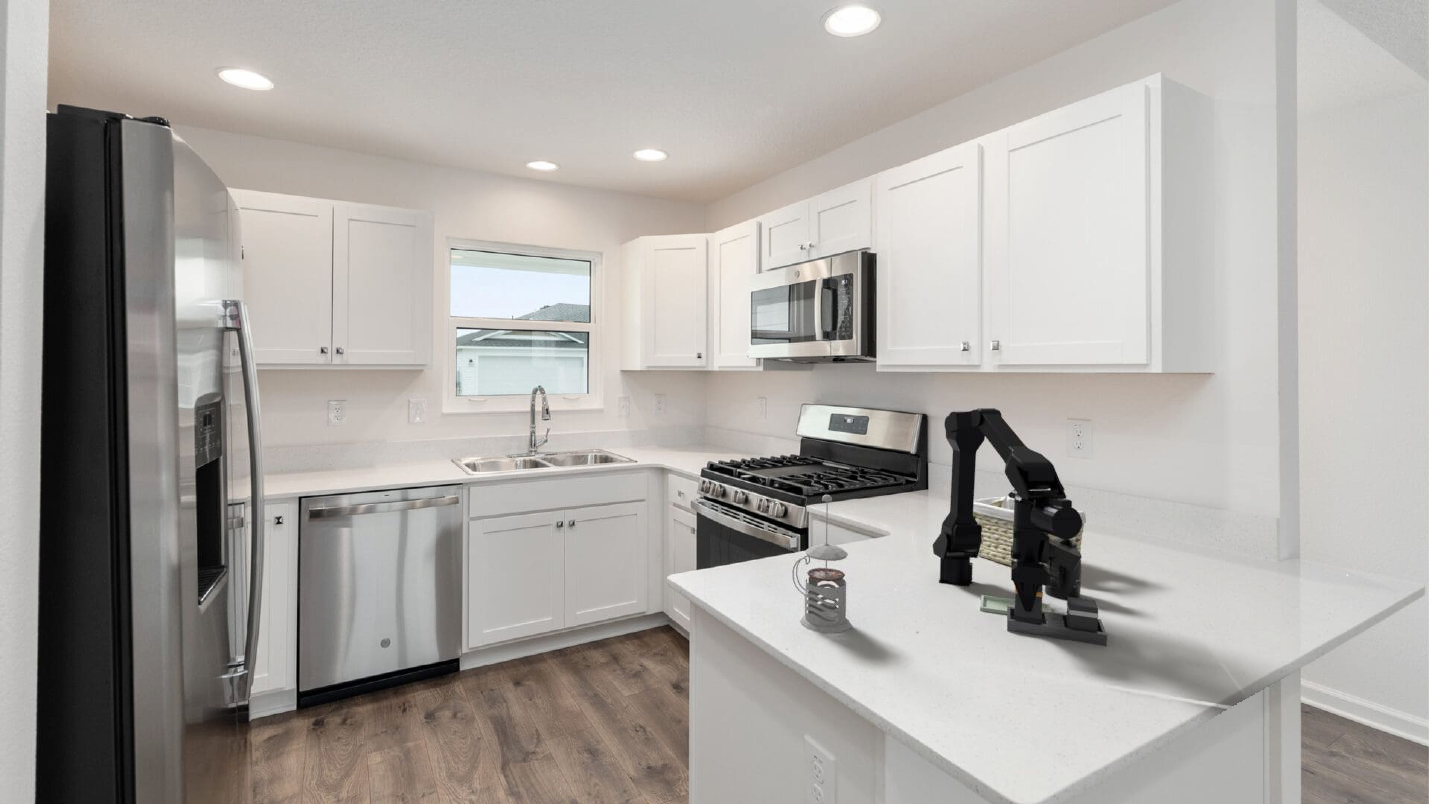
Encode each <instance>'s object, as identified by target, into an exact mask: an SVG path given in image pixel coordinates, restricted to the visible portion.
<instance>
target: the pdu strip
mask: <svg viewBox="0 0 1429 804" xmlns="http://www.w3.org/2000/svg"><path fill="white" fill-rule="evenodd" d="M1006 631H1007V632H1010V633H1016V634H1017V633H1018V634H1021V635H1023V634H1024V635H1030V636H1036V637H1042V638H1043V637H1044V638H1049V639H1056V640H1062V641H1069V642H1076V643H1082V644H1087V645H1096V646H1102V647H1107V643H1108V642H1107V641H1108V634H1107V632H1106V630H1105V626H1104V624H1103V622H1102V619H1100V618H1098V630H1097V632H1096V631H1089V630H1083V629H1076V628H1069V627H1067V613H1066V614H1065V613H1059V612H1052V611H1051V612H1045V611H1042V619H1035V618H1028V617H1021V616H1015V607H1009V606H1007V615H1006Z"/></svg>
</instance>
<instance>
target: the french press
mask: <svg viewBox="0 0 1429 804" xmlns="http://www.w3.org/2000/svg"><path fill="white" fill-rule="evenodd" d="M821 500H822V502H826V511H825V513H826V519H825V521H826V522H825V525H826V527H825V528H826V529H825V530H826V531H825V543H819V544H815V545H813V546H811V547H809V548H807V549H806V550H805V552H804V553H805V554H806V555H804V556H802V557H801V558H799V559H798V560H797V561H795V563H794V565H793V567H792V571H791V572H792V581H793V584H794V587H795V588H796V589H797V591H798V592H799V593H801V594H802V596H804V615H803V616H802V617H801V618H800V620H799V623H800V625H801V626H802V627H804V628H806V629H807V630H810V631H812V632H817V633H825V634H829V633H830V634H836V633H841V632H845V631H847V630H850V629H851V626H852V623H851V622H850V620H849V619H848V618H847V615H846V614H847V609H846V608H847V581H846V579H844V577H845V576H846V574H845V573H844V571H842V570H839V569H835V568H831V567H830V568H829V567H827V565H828V561H829V562H835V561H842V560H844V559H847V557H848V556H849V553H848V552H847V551H846V550H845V549H843V548H842V547H839V546H837V545H836V544H831V543H828V514H829V513H828V508H829V507H828V506H829V505H828V504H829V503H828V502H830V503H831V502H833V497H832V496H831V495H829V494H824V495H823V496H822V499H821ZM807 558H808V559H807ZM811 559H813V560H814V559H815V560H819V561H825V567H816V568H811V569H809V570H808V571H807V575H808V579H807V578H806V579H805V588H804V586H803V585H801V583H800V580H799V576H798V567H799V565H800V563H801V561H803V560H804V561H805V565H809V563H811ZM795 576H796V580H797V583H798V585H799V586H800V587H801V589H803V591H805V593H804V592H803V591H802V590H800V589H799V587H798V586H797V583H796V581H795ZM821 582H833V583H834V584H836V585H833V584H831V583H822V584H819V583H821ZM836 586H837V587H836ZM819 596H821V597H819ZM827 600H829V601H832V602H829V601H827Z"/></svg>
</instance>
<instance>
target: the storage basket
mask: <svg viewBox="0 0 1429 804" xmlns="http://www.w3.org/2000/svg"><path fill="white" fill-rule="evenodd" d="M1077 511H1078V512H1079V514H1080V517H1081V519H1082V527H1081V530H1080V532H1079V533H1078V534H1077V535H1076V536H1075V537H1073V538H1072V539H1070V540H1071V541H1072V542H1075V543H1077V550H1078V551H1079V552H1080V553H1081V546H1082V540H1083V534H1084V524H1086V522H1087V518H1086V513H1085V511H1082V510H1077ZM973 516H974V518H975V520H976V521H977V523H978V524H979V525H981V527H982V533H981V539H982V543H981V546H980V550H979V554H978V557H979V558H985V559H987V560H992V561H994V562H996V563H1001V564H1005V565H1007V566H1009V567H1011V561H1016V560H1015V559H1013V558H1011V546H1012V545H1013V527H1014V498H1010V497H1009V496H1008V495H1005V496H997V497H995V496H994V497H987V498H978V499H974V507H973ZM1048 536H1049V539H1051V540H1060V539H1061V538H1058V537H1056V536H1053V535H1051V534H1048ZM1039 563H1040V564H1044V565H1045V566H1046V564H1045V563H1041V562H1039Z"/></svg>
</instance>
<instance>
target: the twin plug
mask: <svg viewBox="0 0 1429 804" xmlns="http://www.w3.org/2000/svg"><path fill="white" fill-rule="evenodd" d="M1066 614H1067V627H1069V628H1076V629H1083V630H1089V631H1096V632H1097V630H1098V619H1099V607H1098V604H1097V601H1096V600H1095V599H1087V598H1081V597H1080V598H1074V597H1068V600H1066Z"/></svg>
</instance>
